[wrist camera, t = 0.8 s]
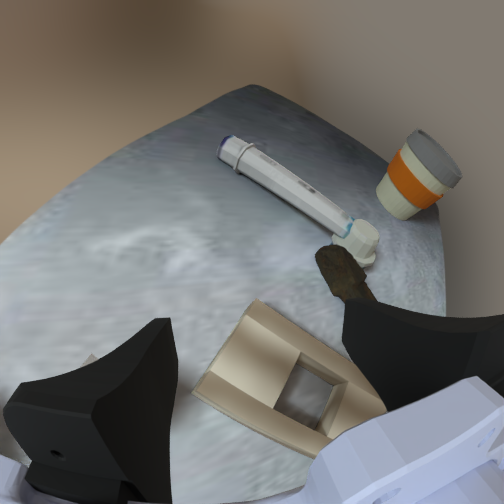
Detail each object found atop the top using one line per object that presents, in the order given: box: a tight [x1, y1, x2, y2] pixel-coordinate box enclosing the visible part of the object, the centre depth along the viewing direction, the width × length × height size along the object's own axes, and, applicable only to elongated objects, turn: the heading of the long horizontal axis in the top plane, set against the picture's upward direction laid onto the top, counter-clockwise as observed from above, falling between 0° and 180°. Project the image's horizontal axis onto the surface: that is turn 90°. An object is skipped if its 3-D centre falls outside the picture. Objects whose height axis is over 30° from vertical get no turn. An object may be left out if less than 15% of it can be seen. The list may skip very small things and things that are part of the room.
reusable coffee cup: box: [376, 129, 462, 221], centre depth 46 cm, size 13×13×15 cm
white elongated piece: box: [216, 135, 379, 269], centre depth 37 cm, size 5×7×25 cm
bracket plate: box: [191, 298, 386, 459], centre depth 23 cm, size 10×18×2 cm, turn 62°
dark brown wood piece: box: [315, 244, 378, 303], centre depth 31 cm, size 19×4×5 cm, turn 34°
